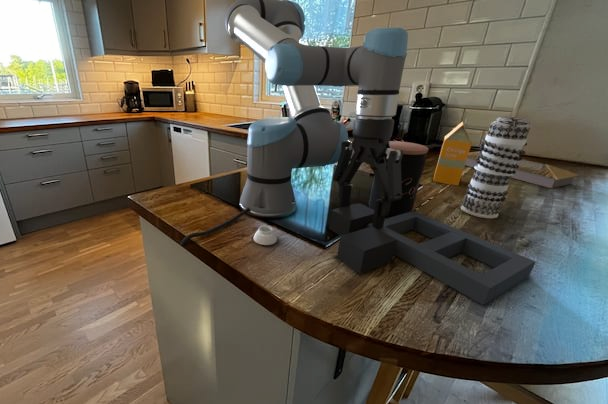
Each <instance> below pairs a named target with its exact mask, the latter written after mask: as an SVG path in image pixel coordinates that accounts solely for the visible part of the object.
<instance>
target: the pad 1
mask: <svg viewBox="0 0 608 404" xmlns="http://www.w3.org/2000/svg"><path fill="white" fill-rule="evenodd" d="M374 211H375V210H373V209H371V208H369V206H367V205H364V204H363V203H360V202H358V203H353V204H349V206H345V207H341V208H339V207H338V208H333V209H331V210H330V217H329V225H328V230H330V231H332V232H334V233H335V234H337V235H338V236H339V237H340V236H342V235H345V234H348V233H352V232H355V231H358V230H362V229H365V228H367V227H368V224H370V223H373V217H374Z"/></svg>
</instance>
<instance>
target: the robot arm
mask: <svg viewBox="0 0 608 404" xmlns="http://www.w3.org/2000/svg"><path fill="white" fill-rule="evenodd" d="M305 22H306V16H305V12H304V10H303V8H302V6H301V5H300V4H299V3H297V1H296V2H295V1H291V0H235V1H233V3H231V5H229V7H228V9H227V10H226V13H225V18H224V26H225V31H226V33H227V34H228V36H229V37H230V38H231V39H232V40H233V41H234V42H235V43H236V44H238V45H242V46H245V47H246V48H247V49H248V50H249V51H250V52H252V53H253V54H254V55H255V56H256V57H257V58H258V59H260V61H261V62H263V63H264V70H265V74H266V78H267V80H268V82H270V83H271V84H272V85H275V86H281V89H282V92H283V95H284V98H285V102H286V105H287V107H288V111H289V115H290V117H288V116H279V117H277V116H273V117H267V118H262V119H258V120H255V121H253V122H252V123H251V124H250V125H249V127H248V130H247V131H248V132H247V140H246V145H247V151H246V153H247V156H246V157H247V160H246V161H247V162H246V181H245V184H244V186H243V190H242V192H241V194H240V198H239V208H240V210H241V212H239V213H237V214H236V215H235V216H233V217H232V218H230V219H227V220H226V221H224V222H222V223H220V224H218V225H216V226H214V227H212V228H209V229H207V230H204V231H197V232H192V233H189V234H188V235H186V236H185V237H184V238H183V239H182V240H181V241H180V243H179V245H180V246H184V245H185V244H186V243H187V242H188V241H189V240H191V239H192V238H195V237H202V236H207V235H210V234H212V233H214V232H216V231H219V230H220V229H222V228H225V227H226V226H228V225H230V224H231V223H234V222H235V221H237V220H238V219H240V218H241V217H243V215H245V214H246V215H249V216H251V217H254V218H259V219H268V220H269V219H270V220H272V219H273V220H275V219H282V218H287V217H289V216H291V215H293V214H294V213H295V212H296V209H297V200H296V195H295V192H294V187H293V184H292V175H293V170H295V169H305V168H316V167H326V166H331V165H335V164H336V166H335V170H334V174H333V177H332V181H333V182H335V183H337V185H338V194H337V196H338V199H339V201H338V208H341V207H345V206H349V205H351V204H350V203H351V197H352V189H353V185H351V184H352V182H351V181H352V180H353V178H354V177H355V175H356V174H357V172H358V171H359V169H360V167H361V166H362V164H363V163H365V164H366V165H369V167H370V169H371V170H372V172H373V177H374V176H375V180H376V184H377V188H378V192H379V196H380V199H379V200H376V205H375V211H374V217H373V224H372V226H373V227H375V228H376V229H380V228H383V226H384V220H385V219H386V218H385V216H386V215H388V214H389V210H390V205H391V202H392V201H396V200H400V199H401V198H402V183H401V160H402V156H403V150H395V149H392V148H390V145H389V141H391V138H393V137H392V136H393V132H394V126H395V120H394V119H393V117H395V116H396V115H397V110H398V104H399V98H400V96H399V94H400V89H401V84H402V78H403V72H404V67H405V63H406V57H407V55H408V53H407V51H408V41H409V32H408V31H407V30H406V29H405V28H402V27H379V28H373V29H371V30H368V31H367V32H366V33H365V35H364V39H363V42H362V45H360V46H359V45H358V46H352V47H341V46H340V47H338V46H322V45H309V44H308V45H307V44H303V43H301V42H302V39H303V37H304V34H305V30H306V24H305ZM316 86H317V87H318V86H319V87H321V86H322V87H324V86H325V87H339V88H341V87H351V86H352V87H353V86H357V87H358V90H357V95H356V97H357V98H356V104H355V113H354V114H355V115H356V116H357V117H355V119H354V120H353V127H352V136H353V137H354V138H353V140H352V139H351V140H349V132H348V129H347V127H346V125H345V124H344V122H341V121H339V120H334V119H333V116H332V114H331V111H330V110H329V108H327V107H326V106H325V107H324V106H322V104H321V101H320V98H319V95H318V92H317V89H316ZM386 155H387V157H386V159H388V161H387V163H386V160H385V156H386ZM377 163H380V164H377ZM386 166H387V170H386Z"/></svg>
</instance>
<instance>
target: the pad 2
mask: <svg viewBox="0 0 608 404" xmlns="http://www.w3.org/2000/svg"><path fill="white" fill-rule="evenodd" d="M396 244H397V239H396V238H394V237H392V236H390V235H388V234H386V233H384V232H382V231H380V230H378V229H376V228H375V227H373V226H372V227H368V228H365V229H362V230H358V231H355V232H352V233H348V234H345V235H342V236H340V235H339V241H338V248H337V254H336V258H337V259H338V260H340V261H341V262H343V263H344V264H346V265H347V266H348V267H349V268H350V269H352V270H354V271H355V272H357V273H358V274H359V275H361V274H363V273H366V272H369V271H372V270H373V269H376V268H378V267H380V266H381V267H382V266H383V265H387V264H389V263H391V262H393V259H394V255H395V254H394V251H395V248H396Z"/></svg>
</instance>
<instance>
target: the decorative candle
mask: <svg viewBox="0 0 608 404" xmlns="http://www.w3.org/2000/svg"><path fill="white" fill-rule="evenodd" d="M533 127H534V126H533V125H531V123H530V120H529V119H527V118H524V117H517V116H499V117H497V118H496V119H495V120H494V121H491V122H490V126H489V129H488V132H487V134H486V135H485V137H483V138H481V140H480V142H481V144H480V145H479V146H478V147H479V149H480V150H479V151H480V152H479V151H478V152H479V153H478V154H477V155H478V158H477V159H476V162H477V163H478V164H476V166H475V167H474V169H475V171H474V173H473V176H472V177H471V179H470V182H469V184H467V187H468V188H467V189H466V190H465V192H466V194H465V195H464V196H463V200H462V201H461V204H462V205H461V206H460V209H461V211H462V212H464V213H466V214H469V215H471V216H474V217H478V218H483V219H497V218H498V217H499V214H500V212H501V211H502V210H501V208H502V207H503V206H504V204H503V202H504V201H505V200H506V197H505V196H507V195H508V188H509V186H510V184H509V183H510V181H511V179H512V178H511V176H512V175H514V174H515V173H516V171H514V170H513V169H516V168H518V167H519V166H518V165H517V163H516V162H517V161H520V160H523V159H524V158H523V157H522V155H525V154H526V151H525V150H524V149H523V147H526V146H527V145H528V143H527V140H528V135H529V134H530V130H531V128H533Z"/></svg>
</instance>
